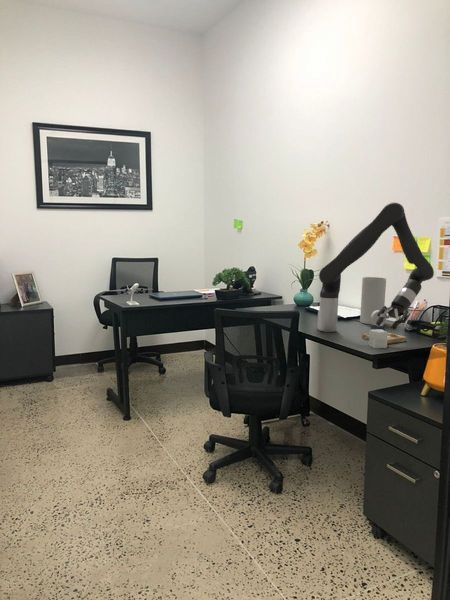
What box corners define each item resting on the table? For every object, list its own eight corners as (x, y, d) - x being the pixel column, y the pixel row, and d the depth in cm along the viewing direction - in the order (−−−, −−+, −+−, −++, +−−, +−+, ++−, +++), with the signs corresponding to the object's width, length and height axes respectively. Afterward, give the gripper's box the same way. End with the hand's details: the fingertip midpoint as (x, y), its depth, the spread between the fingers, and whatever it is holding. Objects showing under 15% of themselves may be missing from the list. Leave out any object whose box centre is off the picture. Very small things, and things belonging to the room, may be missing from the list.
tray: (362, 338, 231) (362, 334, 230) (382, 335, 238) (382, 331, 237) (385, 344, 219) (385, 340, 218) (405, 341, 226) (406, 337, 225)
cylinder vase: (358, 323, 265) (361, 278, 261) (361, 320, 276) (363, 276, 273) (382, 326, 260) (385, 280, 257) (384, 321, 272) (387, 277, 268)
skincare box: (380, 344, 218) (381, 329, 217) (387, 348, 212) (388, 331, 211) (368, 345, 217) (369, 329, 216) (374, 348, 211) (375, 332, 210)
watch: (387, 332, 244) (389, 311, 242) (373, 333, 242) (374, 311, 240) (381, 330, 249) (382, 309, 248) (367, 330, 247) (368, 309, 246)
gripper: (387, 292, 224) (368, 318, 220) (413, 296, 212) (393, 324, 208) (394, 303, 227) (376, 329, 223) (420, 307, 215) (401, 335, 211)
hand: (384, 326), depth 215 cm, fingers open, 8 cm apart
